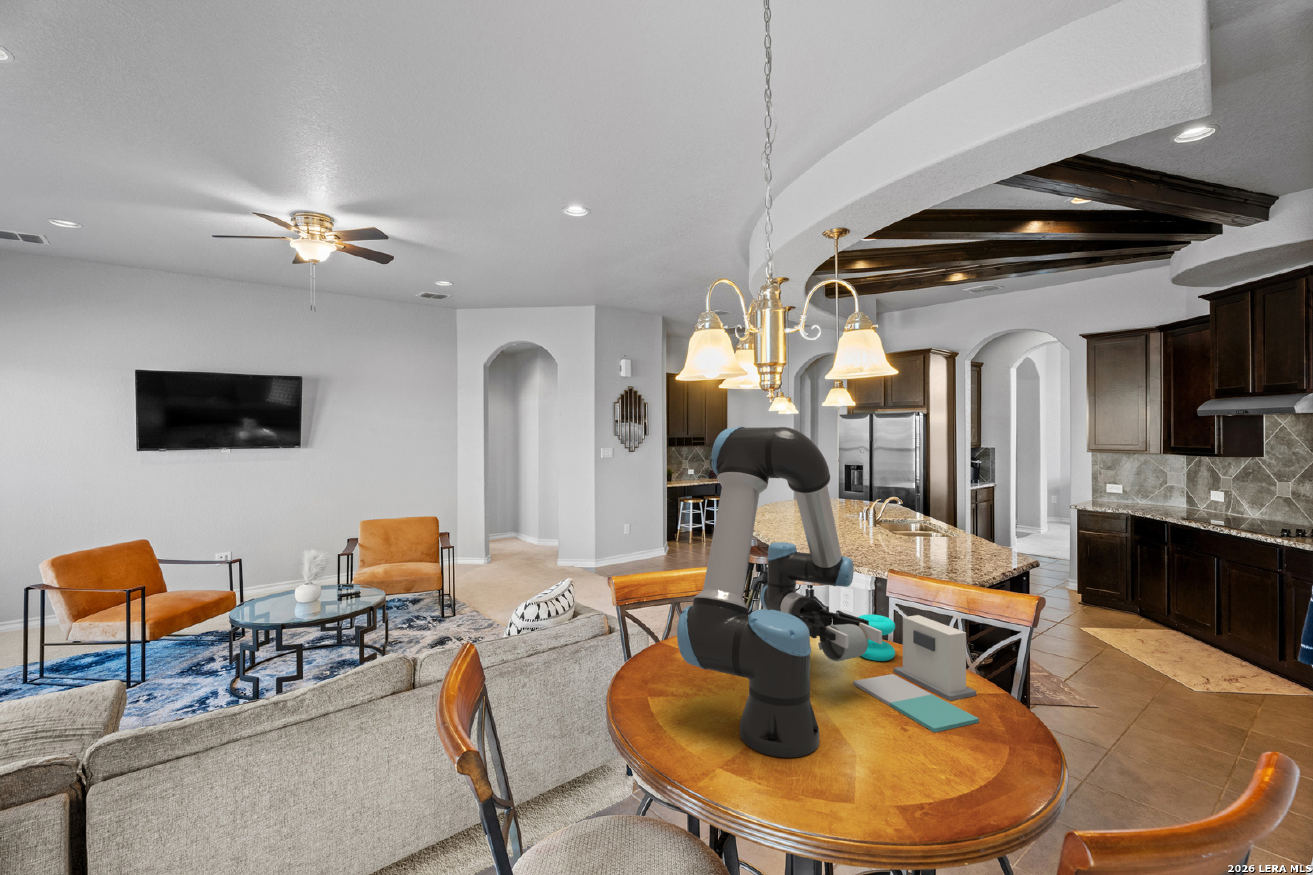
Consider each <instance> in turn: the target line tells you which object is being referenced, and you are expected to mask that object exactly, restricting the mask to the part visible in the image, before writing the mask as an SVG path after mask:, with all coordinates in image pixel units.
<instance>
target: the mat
mask: <svg viewBox="0 0 1313 875" xmlns="http://www.w3.org/2000/svg"><path fill="white" fill-rule="evenodd" d="M852 685H853V686H855V687H857V688H859V689H860V690H861V691H863V692H866V693H867V694H869V695H870V696H872V697H874V698H875V699H877V700H879V702H880V701H881V702H882V703H883V704H885V705H887V706H889V707H891V708H892V709H893V710H895V711H897V712H898V713H900V714H902V715H904V716H905V717H908V718H910V720H912V719H913V720H912V721H914V722H916V723H917V724H919V723H920V724H919V725H920V726H923V727H924V728H926V729H927V728H928V730H929V731H931V732H932V733H939V732H943V731H947V730H952V729H957V728H960V727H964V726H970V725H973V724H974V725H975V724H979V723H980V718H979V717H977V716H974V715H973V714H971V713H969V712H967V711H966V710H963V709H961V708H960V707H958V706H955V705H954V704H952V703H950V702H948V701H947V700H944V699H943V698H940V697H938V696H936V695H934V694H933V693H932V692H929V691H928V690H925V689H923V688H921V687H919V686H917V685H916V684H913V683H911V682H909V680H908V681H907V679H906V680H905V678H904V679H903V677H902V678H901V676H900V677H899V675H897V674H895V673H891V674H886V675H885V674H884V675H880V676H873V677H869V678H861V679H858V680H857V679H856V680H852Z"/></svg>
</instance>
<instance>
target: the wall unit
mask: <svg viewBox="0 0 1313 875" xmlns="http://www.w3.org/2000/svg"><path fill="white" fill-rule="evenodd" d="M966 652H967V632H965V631H963V630H960V629H957V628H954V627H952V626H949V625H947V624H943V623H941V622H938V621H937V620H934V619H930V618H928V617H925V616H922V615H920V614H915V615H911V616H910V615H909V616H903V617H902V666H897V667H893V673H894V674H895V675H897V676H900V677H902V678H904V679H906V680H908V681H911V682H912V683H915V685H918V686H920V687H923V688H924V689H926V690H927V691H930V692H931V693H932V694H933V693H934V694H936V695H938V696H939V697H941V698H942V699H945V700H946V701H950V702H953V701H956V700H962V699H966V698H971V697H975V696H977V690H975V689H972V688H970V687H969V686H967V653H966Z"/></svg>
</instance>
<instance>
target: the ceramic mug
mask: <svg viewBox="0 0 1313 875" xmlns="http://www.w3.org/2000/svg"><path fill="white" fill-rule="evenodd" d="M827 627H832V628H834V629H836V630H838V631H840V632H842V633H844V634H847V635H848V648H844V647H842V646H840V645H838V644H836V643H834V642H832V641H830V640H828V639H826V638H825V642H821V641H820V640H819V642H818V649H819V650H820V651H822V652H823V654H824V656H826V658H827V659H829V660H830V661H832V662H836V663H837V662H840V661H846V660H849V659H854V658H859V657H861V655H863V654H864V653H865V652H866V650H867V646H868V641H867V637H866V634H865V633H864V631H863V630H862V629H861V628H860V627H859V626H857V625H853V624H843V625H833V624H831V625H829V626H826V627H825V629H826V628H827Z"/></svg>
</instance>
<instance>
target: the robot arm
mask: <svg viewBox="0 0 1313 875" xmlns="http://www.w3.org/2000/svg"><path fill="white" fill-rule="evenodd" d="M710 458H711V459H712V460H711V462H710V463H711V468H712V471H713V472H714V474H715V475H716V476H717V477H716V480H717V481H718V484H720V486H721V490H720V496H719V500H718V501H719V502H718V506H717V512H716V516H715V517H716V518H715V524H714V528H713V533H712V540H711V544H710V550H709V555H708V561H707V567H706V572H705V575H704V576H705V577H704V580H703V586H702V587H703V588H702V590H701V591H700V592H699V593H698V594H696V595H695V596H694V597H693V602H692V605H688V606H686V607H684V608H683V609H682V611H681V613H680V615H679V616H678V621H677V626H676V640H677V645H678V650H679V654H680V655H681V657H682V659H683V660H684V661H685V663H687V664H688V665H691V666H695V667H698V668H700V669H703V670H706V671H707V670H709V671H714V672H717V673H718V672H719V673H722V674H727V675H732V676H735V677H736V676H737V677H742V678H746V679H748V695H747V699H746V702H745V706H744V708H743V711H742V715H741V718H740V721H739V736H740V739H741V740H742V742H743V743H744V744H745V745H746V746H747V747H749V748H750V749H752V750H754V751H757V753H760V754H764V755H767V756H771V757H776V758H798V757H804V756H807V755H810V754H812V753H813V752H814V751H816V750H817V749H818V747H819V745H820V728H819V725H818V722H817V718H816V716H815V712H814V710H813V705H812V703H811V702H812V701H811V653H812V646H811V639H817V638H819V642H820V641H821V642H825V638H826V639H828V640H830V641H832V642H834V643H836V644H838V645H840V646H842V647H844V648H848V635H847V634H844V633H842V632H840V631H838V630H836V629H834V628H832V627H827V628H826V629H825V627H826V626H829V625H843V624H853V625H857V626H859V627H860V628H861V629H862V630H863V631H864V633H865V634H866V637H867V639H869V640H872V641H874V642H876V643H878V644H882V641H883V635H882V631H880V630H878V629H876V628H873V627H871V626H869V621H868V620H865V619H861V618H858V617H859V616H855V615H852V614H848V613H845V612H844V611H841V610H836V611H835V613H834V612H831V611H828V610H826V609H824V608H823V606H822V605H821V603H819V602H818V601H817V600H815V599H812V598H810V597H808V596H806V595H804V594H800V593H798V592H797V591H796V589H797V587H796V586H797V582H804V583H811V584H812V583H813V584H818V585H825V586H832V587H843V588H844V587H845V588H846V587H849V586H851V585H852V583H853V579H854V571H855V570H854V569H855V568H854V560H852V558H850V557H848V556H847V557H846V556H844V555H842V551H841V545H840V542H839V536H838V531H837V527H836V523H835V517H834V511H833V507H832V502H831V496H830V493H829V492H830V491H829V486H828V485H830V481H831V474H830V469H829V466H828V463H827V461H826V458H825V456H824V455H823V453H822V452H821V450H820V448H819V447H818V446H817V445H816V443H814V442H813V441H812V440H811V438H809V437H808V436H806V435H805V434H804V433H803V432H800V431H799V430H796V429H794V428H791V427H788V426H787V427H786V426H778V427H775V426H774V427H773V426H772V427H769V426H768V427H745V426H737V427H728V428H725V429H724V430H722V431H721V432H720V433H719V434H718V435H717V437H716V438H715V439H714V442H713V445H712V448H711V457H710ZM769 479H783V480H786V481H787V486H788V488H789V489H791V490H792V491H793V492H794V494H795V499H796V503H797V506H798V512H799V514H800V520H801V522H802V526H803V531H804V535H805V539H806V543H807V546H808V550H809V552H802V551H798V549H797V545H796V544H795V543H792V542H791V543H790V542H782V541H781V542H778V541H777V542H772V543H770V544H769V546H768V548H767V549H768V550H767V559H766V561H767V583H766V585H764V587H763V588H762V589H761V592H760V595H759V600H760V604H761V605H762V607H763V608H764V609H763V608H762V609H756V610H753V611H752V612H751V613H750V614H749V607H748V605H747V604H746V603H745V601H744V598H743V597H744V592H745V585H746V580H747V572H748V568H749V567H748V566H749V560H750V556H751V549H752V548H751V547H752V541H753V536H754V529H755V524H756V518H757V517H756V516H757V511H758V505H759V498H760V494H762V493H763V492H764V491H765V490H767V488H768V485H769ZM748 614H749V615H748ZM810 638H811V639H810Z"/></svg>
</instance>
